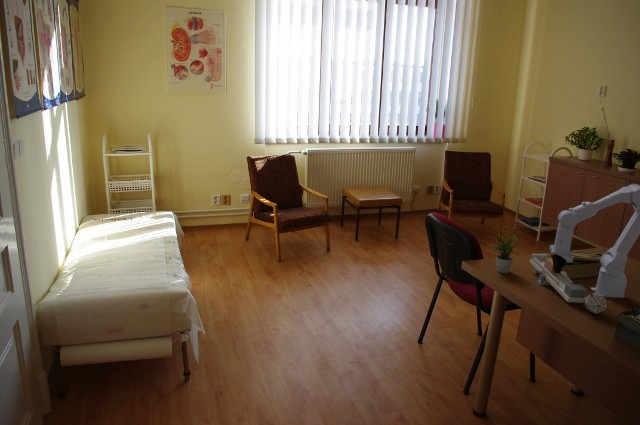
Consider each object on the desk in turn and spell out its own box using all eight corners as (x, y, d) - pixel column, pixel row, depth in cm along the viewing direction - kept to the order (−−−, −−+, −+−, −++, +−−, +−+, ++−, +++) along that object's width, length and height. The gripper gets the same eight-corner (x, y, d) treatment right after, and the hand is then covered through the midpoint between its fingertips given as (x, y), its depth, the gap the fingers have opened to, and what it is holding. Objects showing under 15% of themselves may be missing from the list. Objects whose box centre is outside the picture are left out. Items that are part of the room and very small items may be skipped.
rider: (557, 275, 201) (560, 264, 199) (550, 274, 201) (552, 264, 199) (550, 268, 206) (553, 258, 205) (543, 268, 206) (545, 258, 204)
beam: (586, 302, 184) (589, 290, 182) (566, 302, 184) (569, 290, 182) (545, 262, 215) (548, 251, 213) (528, 261, 215) (531, 251, 213)
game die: (597, 323, 179) (621, 309, 173) (581, 317, 176) (604, 303, 170) (587, 302, 185) (609, 288, 179) (571, 296, 182) (593, 282, 176)
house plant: (493, 261, 225) (498, 226, 220) (524, 269, 216) (530, 234, 212) (480, 269, 214) (485, 233, 210) (511, 278, 206) (518, 241, 201)
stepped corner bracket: (589, 304, 185) (592, 292, 184) (561, 304, 184) (563, 291, 183) (549, 272, 215) (551, 261, 213) (525, 271, 214) (526, 260, 213)
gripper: (544, 234, 201) (538, 265, 205) (562, 246, 188) (556, 279, 191) (561, 235, 202) (555, 265, 206) (580, 247, 188) (574, 280, 192)
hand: (557, 272), depth 198 cm, fingers closed
